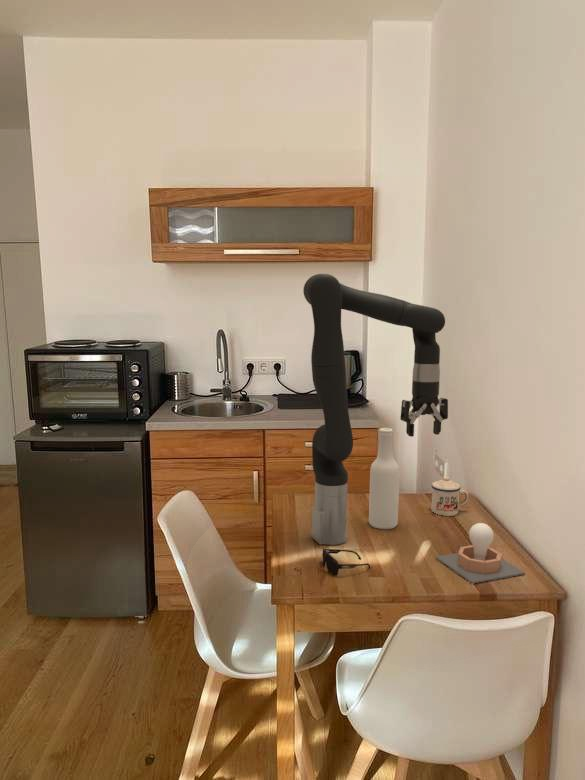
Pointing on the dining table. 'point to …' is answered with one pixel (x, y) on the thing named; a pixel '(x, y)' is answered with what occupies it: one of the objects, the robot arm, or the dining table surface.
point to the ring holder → (479, 565)
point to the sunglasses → (333, 564)
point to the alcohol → (384, 485)
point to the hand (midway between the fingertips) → (423, 435)
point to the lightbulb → (480, 539)
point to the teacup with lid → (446, 497)
